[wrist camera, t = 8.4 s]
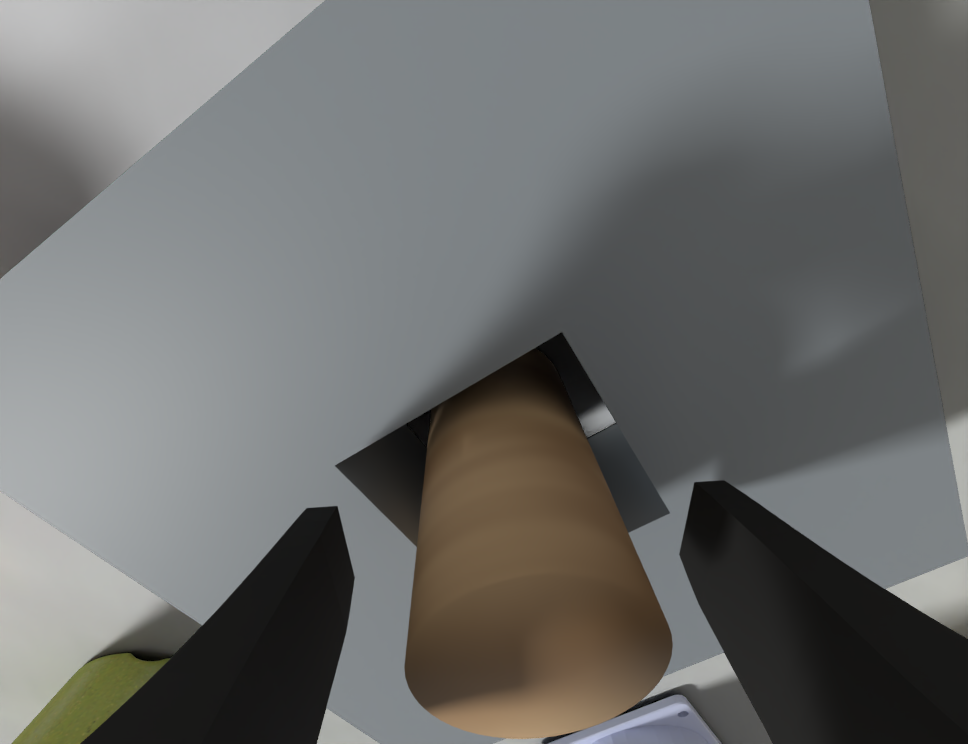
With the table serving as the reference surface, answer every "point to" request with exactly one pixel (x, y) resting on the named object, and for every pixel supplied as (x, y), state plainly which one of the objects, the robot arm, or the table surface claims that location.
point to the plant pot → (89, 699)
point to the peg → (525, 569)
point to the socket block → (489, 301)
